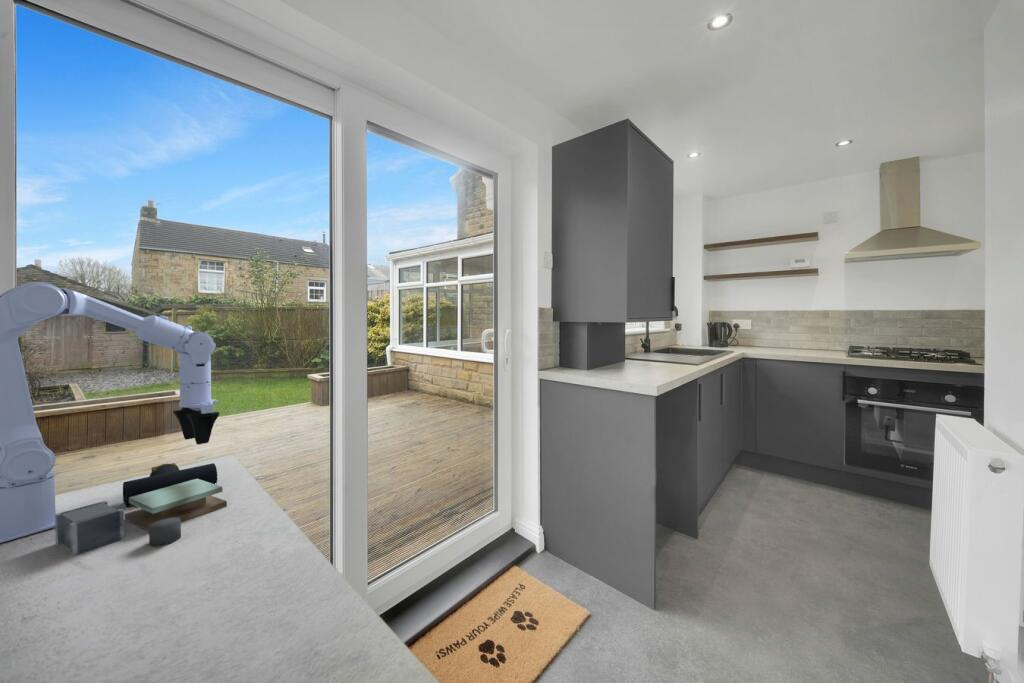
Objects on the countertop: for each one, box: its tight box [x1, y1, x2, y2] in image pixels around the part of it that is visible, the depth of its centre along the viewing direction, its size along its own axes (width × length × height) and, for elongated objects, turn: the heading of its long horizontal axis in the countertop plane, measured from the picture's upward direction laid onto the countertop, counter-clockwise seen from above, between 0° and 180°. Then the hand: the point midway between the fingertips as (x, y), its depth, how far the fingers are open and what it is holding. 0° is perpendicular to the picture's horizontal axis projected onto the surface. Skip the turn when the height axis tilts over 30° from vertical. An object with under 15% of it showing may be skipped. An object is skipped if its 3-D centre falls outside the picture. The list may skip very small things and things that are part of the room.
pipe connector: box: [122, 462, 218, 507], centre depth 88 cm, size 12×5×15 cm
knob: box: [148, 518, 182, 548], centre depth 66 cm, size 4×4×3 cm
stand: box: [124, 479, 228, 532], centre depth 77 cm, size 12×11×4 cm
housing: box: [54, 500, 125, 557], centre depth 66 cm, size 8×6×5 cm
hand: (196, 440), depth 92 cm, fingers open, 7 cm apart
